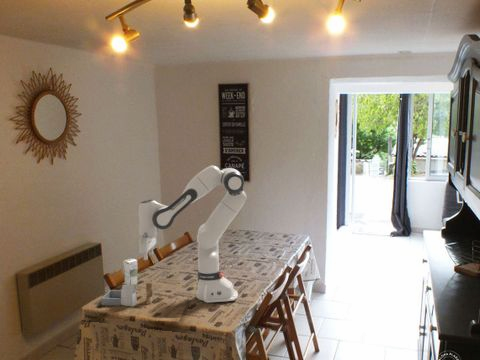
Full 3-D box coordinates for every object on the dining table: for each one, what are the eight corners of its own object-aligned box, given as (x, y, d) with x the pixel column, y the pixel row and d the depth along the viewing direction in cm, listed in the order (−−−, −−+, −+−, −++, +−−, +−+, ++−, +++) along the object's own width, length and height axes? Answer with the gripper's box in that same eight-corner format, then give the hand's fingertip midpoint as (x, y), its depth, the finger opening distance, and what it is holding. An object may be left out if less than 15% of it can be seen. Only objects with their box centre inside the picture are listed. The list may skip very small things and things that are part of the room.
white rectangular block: (132, 306, 214) (131, 287, 213) (121, 305, 216) (120, 286, 215) (136, 303, 217) (135, 284, 216) (125, 302, 219) (124, 283, 218)
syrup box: (132, 281, 250) (131, 258, 249) (138, 283, 247) (137, 259, 245) (124, 284, 246) (123, 260, 245) (130, 286, 242) (129, 262, 241)
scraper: (154, 298, 224) (154, 280, 223) (151, 303, 217) (150, 284, 216) (149, 298, 224) (148, 280, 223) (145, 303, 217) (144, 284, 216)
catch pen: (127, 296, 227) (127, 290, 227) (120, 305, 216) (120, 298, 215) (109, 296, 228) (109, 290, 227) (101, 305, 216) (101, 298, 216)
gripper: (148, 235, 208) (148, 263, 209) (158, 226, 228) (159, 251, 229) (135, 235, 208) (136, 262, 209) (147, 226, 228) (147, 251, 230)
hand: (148, 257), depth 219 cm, fingers open, 8 cm apart
